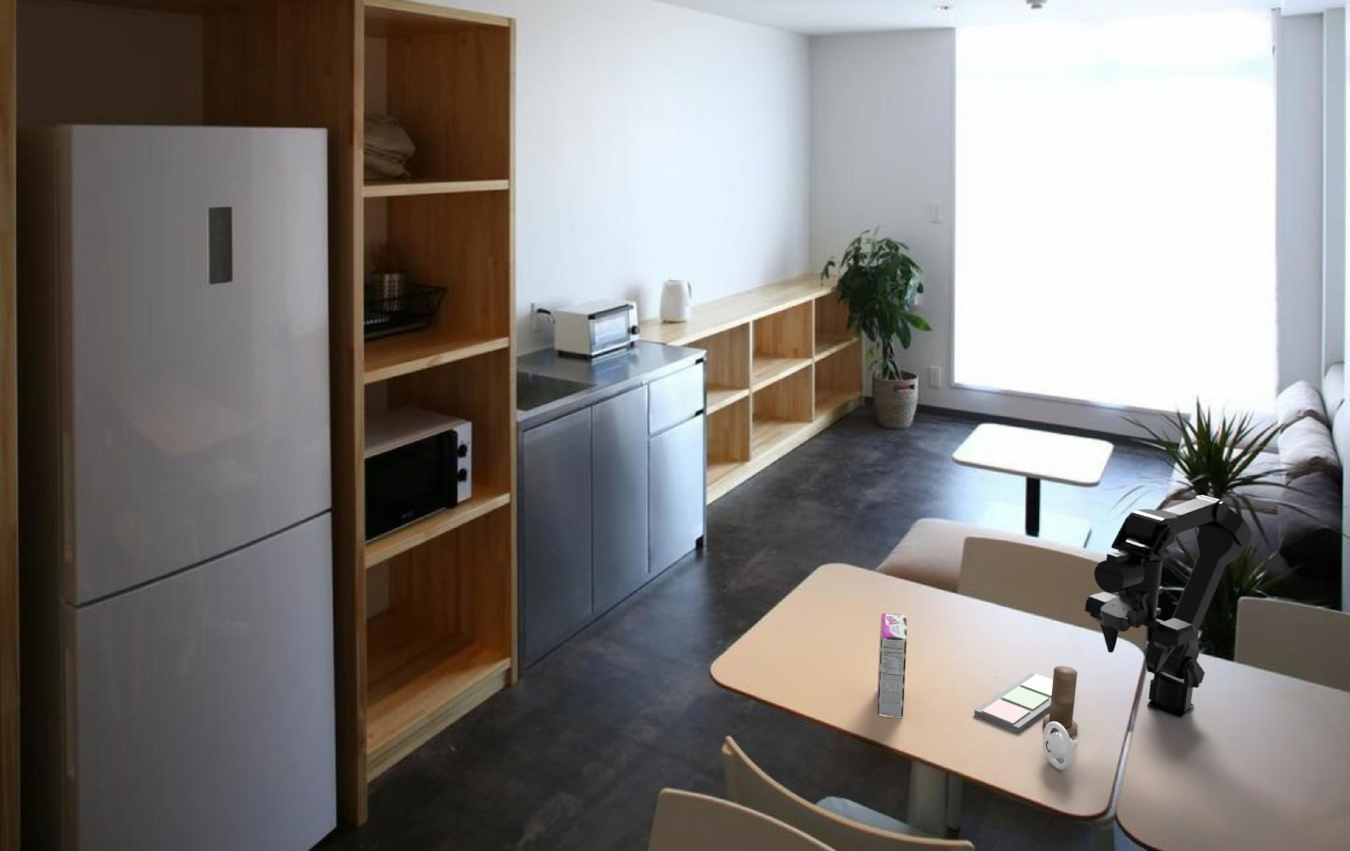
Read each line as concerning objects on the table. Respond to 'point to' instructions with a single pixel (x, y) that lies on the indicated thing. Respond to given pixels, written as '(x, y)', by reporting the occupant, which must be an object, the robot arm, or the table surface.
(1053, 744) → the ring around a ball
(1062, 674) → the brown wooden peg
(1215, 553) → the robot arm
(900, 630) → the candy bar box
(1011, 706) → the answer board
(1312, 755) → the table surface
